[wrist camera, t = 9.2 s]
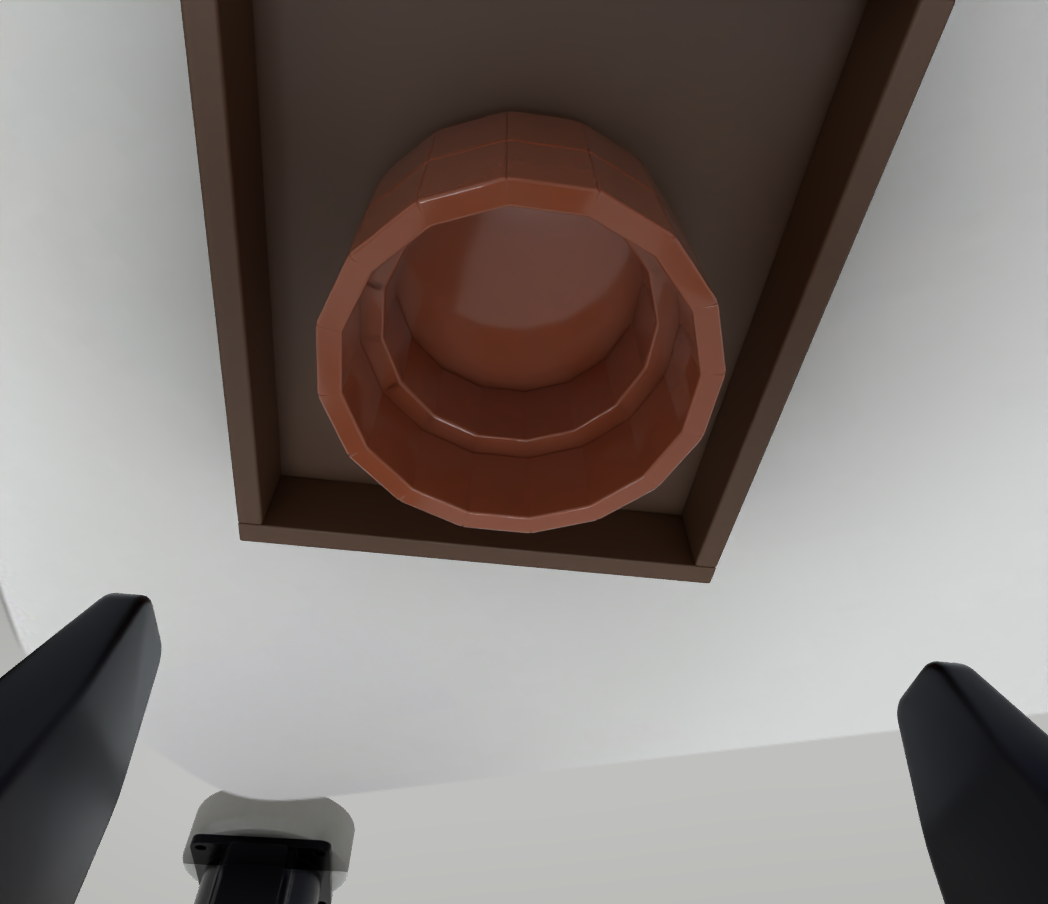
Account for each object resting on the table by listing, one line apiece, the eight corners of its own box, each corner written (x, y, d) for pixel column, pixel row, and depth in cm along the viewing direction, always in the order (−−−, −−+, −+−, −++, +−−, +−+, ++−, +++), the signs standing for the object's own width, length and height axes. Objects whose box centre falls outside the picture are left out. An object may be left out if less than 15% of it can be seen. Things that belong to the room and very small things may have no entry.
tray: (692, 523, 22) (710, 584, 20) (264, 479, 21) (239, 541, 19) (911, -58, 14) (977, -47, 12) (211, -186, 12) (156, -197, 10)
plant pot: (636, 423, 19) (665, 547, 16) (356, 392, 19) (320, 514, 15) (718, 134, 15) (782, 215, 12) (359, 80, 14) (310, 149, 11)
